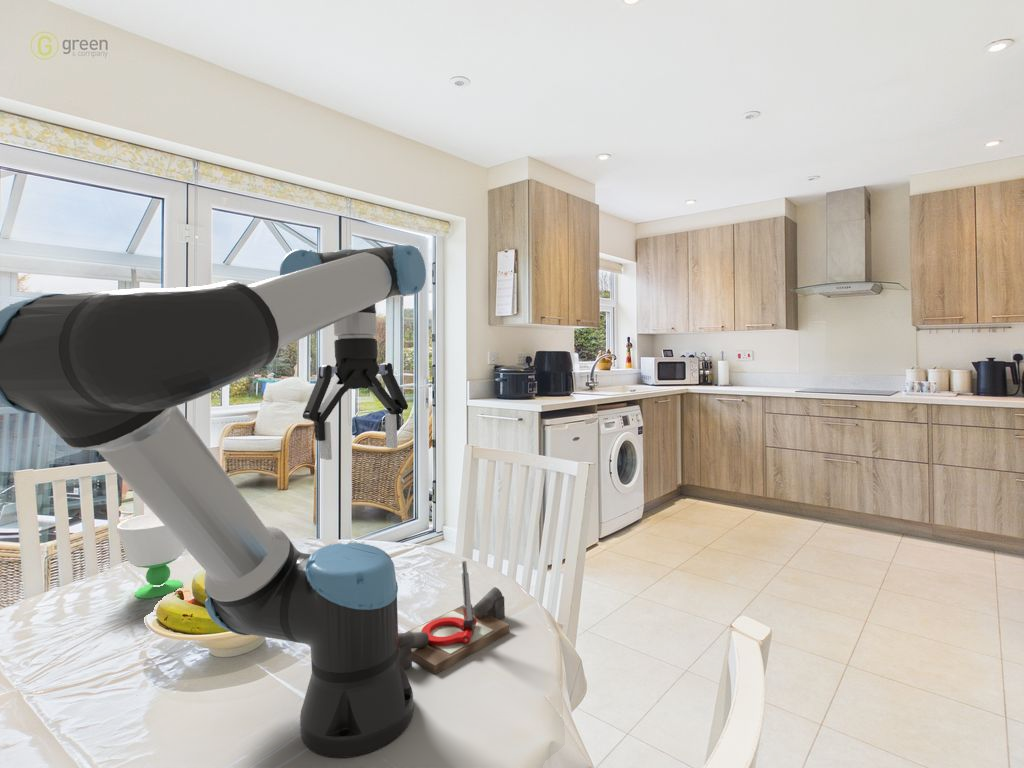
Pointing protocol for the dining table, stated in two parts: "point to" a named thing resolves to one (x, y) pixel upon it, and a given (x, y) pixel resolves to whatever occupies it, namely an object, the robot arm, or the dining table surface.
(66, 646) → the dining table surface
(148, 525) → the cup
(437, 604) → the dining table surface
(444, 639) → the tow hook
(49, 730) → the dining table surface
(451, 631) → the shaft stand
